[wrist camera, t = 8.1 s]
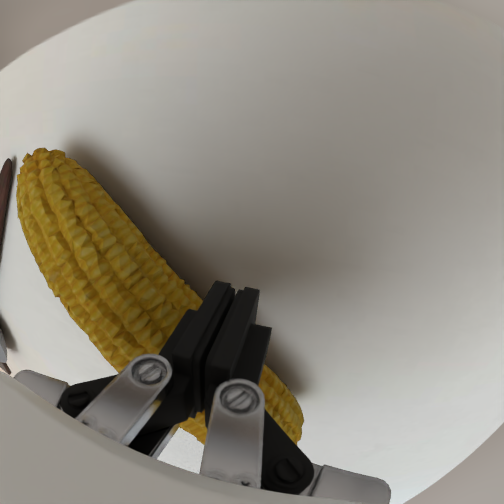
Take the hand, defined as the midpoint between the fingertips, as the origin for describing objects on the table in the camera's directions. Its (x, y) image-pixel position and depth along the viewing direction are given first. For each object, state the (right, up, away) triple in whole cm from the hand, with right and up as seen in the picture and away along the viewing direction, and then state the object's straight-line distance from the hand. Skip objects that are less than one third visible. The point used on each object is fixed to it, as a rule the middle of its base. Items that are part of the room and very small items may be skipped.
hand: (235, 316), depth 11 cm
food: (-4, 0, +5) cm, 6 cm away
